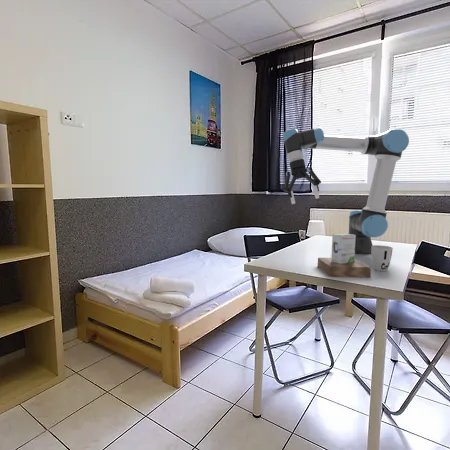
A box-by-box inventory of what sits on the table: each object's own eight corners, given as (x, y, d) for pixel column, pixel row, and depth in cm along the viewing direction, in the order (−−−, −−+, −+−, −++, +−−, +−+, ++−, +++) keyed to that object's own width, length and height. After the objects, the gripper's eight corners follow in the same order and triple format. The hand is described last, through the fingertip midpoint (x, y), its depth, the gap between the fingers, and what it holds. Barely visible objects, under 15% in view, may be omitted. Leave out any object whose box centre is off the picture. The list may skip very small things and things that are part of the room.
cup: (382, 273, 124) (384, 249, 122) (365, 268, 131) (367, 246, 130) (395, 270, 127) (396, 247, 126) (377, 266, 134) (379, 244, 133)
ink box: (339, 264, 121) (341, 235, 120) (330, 261, 126) (331, 233, 124) (355, 262, 124) (356, 234, 123) (345, 259, 129) (347, 232, 128)
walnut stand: (353, 266, 133) (353, 258, 133) (370, 277, 117) (371, 267, 117) (317, 266, 133) (318, 257, 133) (329, 276, 117) (330, 266, 117)
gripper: (314, 158, 157) (323, 197, 158) (271, 166, 152) (280, 206, 152) (321, 154, 150) (331, 195, 150) (276, 163, 145) (286, 205, 145)
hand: (305, 201), depth 151 cm, fingers open, 13 cm apart
